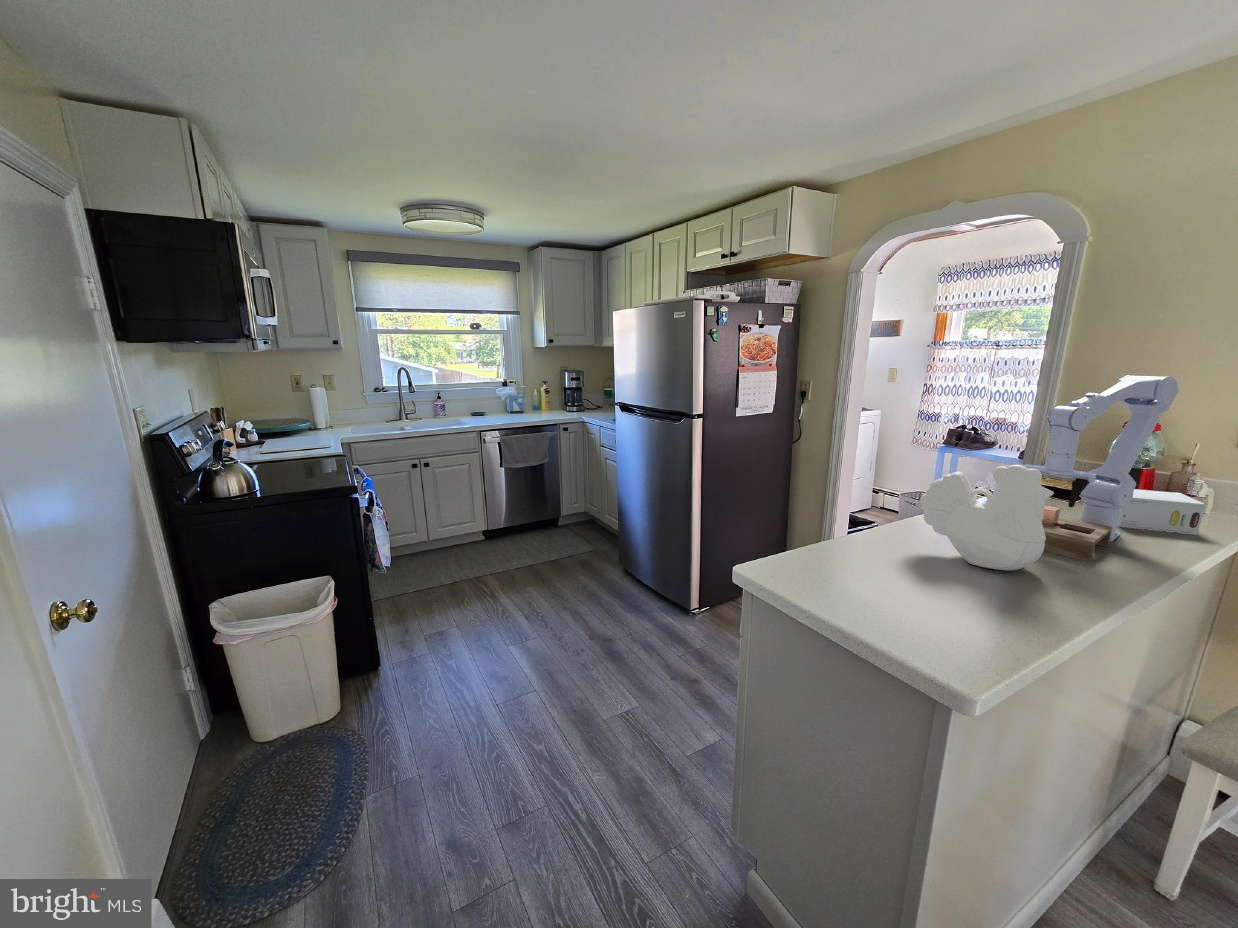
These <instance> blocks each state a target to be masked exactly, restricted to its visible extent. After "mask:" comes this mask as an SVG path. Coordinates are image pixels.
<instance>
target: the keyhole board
mask: <svg viewBox="0 0 1238 928" xmlns="http://www.w3.org/2000/svg"><path fill="white" fill-rule="evenodd" d="M1042 525H1043V529H1044V532H1045V537H1046V540H1045V546H1044V551H1043V552H1049V553H1053V554H1058V555H1060V556H1065V557H1070V558H1073V559H1077V560H1081V561H1086V562H1092V560H1093V558H1094V553H1095V546H1096V545H1097V546H1101V547H1105V548H1107V547H1109V545H1110V542H1111V541H1110V537H1111V533H1112V528H1113V527H1111V526H1106V525H1100V524H1095V523H1090V522H1085V521H1080V519H1074V518H1070V517H1063V516H1061V515H1059V519H1058V523H1056V524H1055V525H1053V526H1052V525H1047V524H1042Z"/></svg>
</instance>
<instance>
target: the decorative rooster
mask: <svg viewBox="0 0 1238 928" xmlns="http://www.w3.org/2000/svg"><path fill="white" fill-rule="evenodd" d="M992 477H993V480H994V482H995V483H996V484H995V486H994V490H993V492H991V491H990V490H988V489H987V488H983V487H978V488H975V489H973V488H972V487H971V484H970V482H969V479H968V478H967V476H966V475H965V473H964V472H962V471H953V472H952V473H946V474H945V475H944V476H943V478H937V479H935V480H934V481H932V482H931V483H930V486H929V487H928V488H927V489H926V491H925V492H926V493H923V494H922V496H921V497H920V499H919V500H920V501H919V502H920V503H921V504H920V509H921V510H922V515H923V520H924V522H925V523H926V524H927V525H929V526H932V529H933V531H934V532H935V533H937V534H939V535H941V536H946V537H947V538H948V540H949V541H950V543H951V545H952V546H953V548H954V549H955V550H956V551H957V553H958V554H959V555H960V556H961V557H962V558H963V559H964V560H965V562H967V563H969V564H970V565H973V566H977V567H980V568H981V567H982V568H986V569H993V570H1001V571H1017V570H1020V569H1023V568H1026V567H1028V566H1030V565H1032V564H1034V563H1035V562H1037V561H1038V560H1039V559H1040V558H1041V556H1042V555H1043V552H1045V551H1044V546H1045V540H1046V537H1045V532H1044V529H1043V525H1042V520H1043V518H1044V507H1045V506H1046V500H1048V499H1050V497H1052V496H1053V495H1054V494H1055V492H1054V491H1052V490H1050V489H1048V488H1046V487H1045V486H1043V485H1042V479H1043V475H1042V474H1041V472H1040V471H1039V470H1037V469H1032V468H1030V469H1028V468H1027V467H1025V466H1023V464H1010V465H1008V466H1003V465H999V466H996V468H994V470H993V471H992ZM980 494H981V495H984V496H985V498H986V501H984V502H981V501H978V500H977V495H980Z"/></svg>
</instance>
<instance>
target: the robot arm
mask: <svg viewBox="0 0 1238 928" xmlns="http://www.w3.org/2000/svg"><path fill="white" fill-rule="evenodd" d="M1178 393H1179V385H1178V381H1177V379H1176V377H1174V376H1172V375H1171V376H1169V375H1166V376H1159V375H1157V376H1152V375H1151V376H1150V375H1148V376H1147V375H1132V374H1129V375H1128V374H1127V375H1125V376H1123V377H1120V378H1119V379H1118V381H1117V382H1116V384H1115V385H1113V386H1112V387H1110V388H1108V389H1107V390H1104V391H1103V392H1101V393H1095V392H1088V393H1085V395H1084V396H1083V397H1081V398H1080V399H1077V400H1073V401H1071V402H1070V403H1069V404H1066V405H1058V406H1055V407H1054V408H1052V409H1050V411H1049V412H1048V415H1047V416H1046V417H1045V418H1046V420H1045V421H1046V424H1047V432H1048V434H1049V438H1048V443H1047V448H1046V449H1047V450H1046V455H1045V462H1044V465H1038V464H1037V465H1035V464H1028V463H1027V464H1022V466H1025V467H1027V468H1028V469H1030V468H1032V469H1037V470H1039V471H1040V472H1041V474H1042V476H1043V475H1044V476H1052V477H1058V478H1065V479H1072V480H1073V481H1071V493H1070V497H1069V500H1068V505H1067V506H1068V508H1074V507H1075V505H1076V502H1077V500H1078V498H1079V497H1080V498H1081V499H1080V501H1081V502H1083V504H1082V510H1081V515H1080V519H1079V520H1080V521H1085V522H1090V523H1095V524H1100V525H1106V526H1111V527H1113V528H1112V533H1111V537H1110V542H1114V540H1115V539H1117V538H1118V537H1119V536H1120V535H1121V533H1120V532H1118V531H1117V528H1118V527H1117V523H1118V518H1119V511H1120V507H1124V506H1125V505H1127V504H1128V503H1129V502H1130V501H1131V500H1132V497H1133V492H1134V489H1136V486H1137V482H1136V481H1135V480H1134V478H1133V477H1132V476H1131V474H1129V473H1130V472H1131V469H1132V468H1133V466H1134V465H1135V463H1136V461H1137V460H1138V457H1139V456H1140V454H1141V452H1142V450H1143V449H1144V447H1145V445H1146V443H1147V441H1148V440H1149V438H1150V437H1151V435H1152V433H1153V431H1154V429H1155V428H1156V426H1157V424H1158V422H1159V420H1160V419H1161V417H1162V416H1163V414H1164V413H1166V412H1168V410H1169V409H1170V408H1171V405H1172V404H1173V402H1174V400H1175V398H1176V397H1177V395H1178ZM1119 402H1121V403H1122V404H1123V406H1124V407H1125V409H1127V410H1129V411H1130V412H1131V415H1130V417H1129V419H1128V421H1127V423H1126V425H1125V426H1124V428H1123V429H1122V431H1121V433H1120V435H1119V437H1118V439H1117V440H1116V442H1115V444H1114V446H1113V447H1112V449H1111V451H1110V453H1109V454H1108V456H1107V458H1106V460H1105V462H1104V463H1103V465H1102V466H1100V467H1097V468H1094V469H1091V470H1089V471H1087V472H1086V471H1081V470H1076V469H1075V468H1074V467H1075V463H1076V458H1077V452H1078V447H1079V446H1078V445H1079V441H1080V435H1081V431H1082V430H1085V429H1086V427H1087V426H1088V424H1090V422H1092V420H1093V419H1095V418H1098V417H1099V416H1101V415H1103V414H1105V413H1107V412H1108V411H1109V409H1110V407H1111V406H1112V405H1114V404H1116V403H1119Z"/></svg>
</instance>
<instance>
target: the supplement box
mask: <svg viewBox="0 0 1238 928" xmlns="http://www.w3.org/2000/svg"><path fill="white" fill-rule="evenodd" d="M1206 505H1207V504H1206V503H1204V502H1203V501H1200V500H1197V499H1195V498H1193V497H1191V496H1188V495H1186V494H1183V493H1181V492H1172V491H1171V492H1170V491H1162V490H1160V491H1159V490H1150V489H1149V490H1148V489H1138V488H1137V489H1136V488H1135V489H1134V492H1133V497H1132V500H1131V501H1130V502H1129V503H1128V504H1127V505H1125V506H1124V507H1120V511H1119V518H1118V523H1117V527H1116V528H1118V527H1119V528H1125V529H1126V528H1128V529H1136V530H1144V529H1148V530H1147V531H1156V532H1163V531H1166V532H1165V533H1173V532H1177V533H1176V534H1185V535H1193V536H1198V534H1199V531H1200V530H1199V529H1200V527H1201V523H1202V519H1203V514H1204V511H1205V507H1206Z"/></svg>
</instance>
